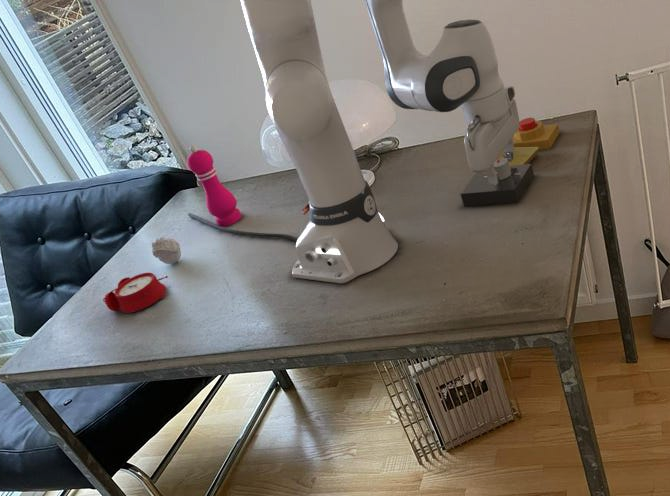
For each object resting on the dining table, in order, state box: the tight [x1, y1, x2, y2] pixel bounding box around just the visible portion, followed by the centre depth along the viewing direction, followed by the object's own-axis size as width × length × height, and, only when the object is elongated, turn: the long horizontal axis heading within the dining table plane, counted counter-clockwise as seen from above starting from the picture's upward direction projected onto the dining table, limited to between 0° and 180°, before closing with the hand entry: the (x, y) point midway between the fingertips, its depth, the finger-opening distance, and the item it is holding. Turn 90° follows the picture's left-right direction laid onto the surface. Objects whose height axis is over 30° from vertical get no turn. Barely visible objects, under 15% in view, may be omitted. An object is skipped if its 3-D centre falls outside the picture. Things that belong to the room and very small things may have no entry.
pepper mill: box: [186, 144, 243, 228], centre depth 180 cm, size 7×7×20 cm
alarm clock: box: [102, 272, 168, 314], centre depth 162 cm, size 10×6×15 cm
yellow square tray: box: [498, 147, 539, 166], centre depth 163 cm, size 9×9×2 cm
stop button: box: [519, 117, 536, 131], centre depth 167 cm, size 4×4×2 cm
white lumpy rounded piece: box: [151, 236, 182, 265], centre depth 173 cm, size 6×7×7 cm
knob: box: [493, 158, 511, 180], centre depth 152 cm, size 4×4×3 cm
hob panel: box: [460, 163, 535, 208], centre depth 154 cm, size 12×11×3 cm
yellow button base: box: [513, 119, 560, 151], centre depth 169 cm, size 11×8×4 cm
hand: (502, 171), depth 153 cm, fingers open, 8 cm apart
